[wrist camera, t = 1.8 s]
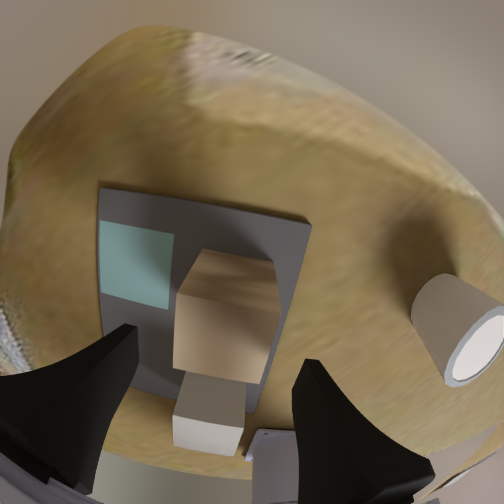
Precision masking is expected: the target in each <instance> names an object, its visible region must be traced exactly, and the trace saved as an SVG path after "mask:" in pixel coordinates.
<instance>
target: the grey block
mask: <svg viewBox="0 0 504 504" xmlns="http://www.w3.org/2000/svg"><path fill="white" fill-rule="evenodd" d="M246 384H247V382H242V381H235V380H230V379H224V378H218V377H213V376H208V375H203V374H198V373H194V372H189V371H186V373H185V376H184V379H183V382H182V386H181V389H180V392H179V395H178V399H177V402H176V405H175V409H174V412H173V444H174V446H178V447H182V448H187V449H191V450H196V451H201V452H207V453H213V454H219V455H225V456H233V457H234V454H235V452H236V449H237V446H238V444H239V441H240V438H241V435H242V433H243V430H244V421H245V402H246Z"/></svg>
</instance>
